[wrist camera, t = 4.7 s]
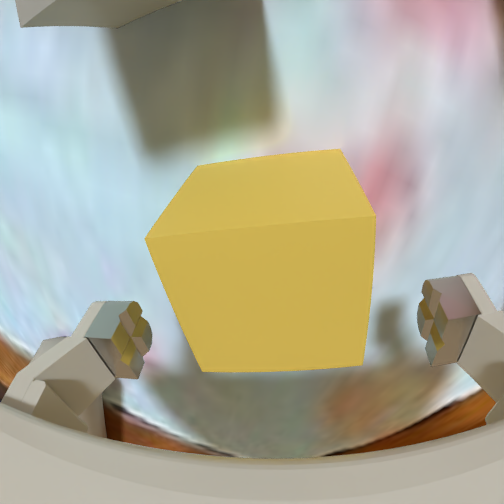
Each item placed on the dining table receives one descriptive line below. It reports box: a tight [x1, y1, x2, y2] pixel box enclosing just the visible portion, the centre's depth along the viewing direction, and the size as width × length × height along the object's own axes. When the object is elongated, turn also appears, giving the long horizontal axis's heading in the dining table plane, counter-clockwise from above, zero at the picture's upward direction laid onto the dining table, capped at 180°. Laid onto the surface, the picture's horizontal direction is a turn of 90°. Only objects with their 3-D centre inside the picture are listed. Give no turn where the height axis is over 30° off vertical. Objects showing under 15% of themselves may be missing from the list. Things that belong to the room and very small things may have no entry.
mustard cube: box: [145, 149, 376, 372], centre depth 10 cm, size 5×5×5 cm
